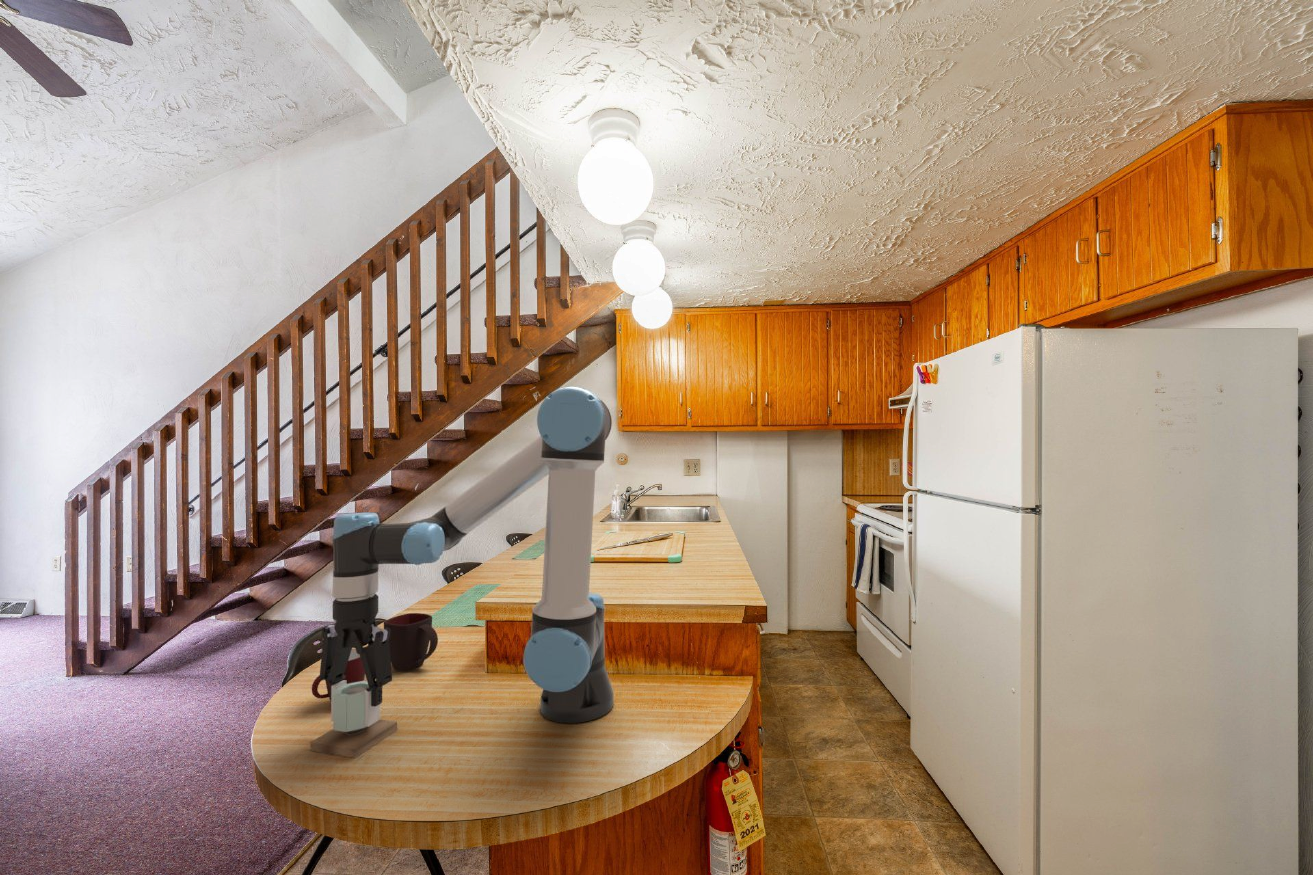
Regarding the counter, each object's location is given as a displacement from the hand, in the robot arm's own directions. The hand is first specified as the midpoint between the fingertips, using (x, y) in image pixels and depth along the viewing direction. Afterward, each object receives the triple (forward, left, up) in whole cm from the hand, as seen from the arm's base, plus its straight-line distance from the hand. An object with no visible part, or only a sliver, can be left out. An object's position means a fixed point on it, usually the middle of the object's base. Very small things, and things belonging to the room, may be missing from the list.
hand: (355, 720), depth 99 cm
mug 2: (+13, -32, -4) cm, 35 cm away
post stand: (0, 0, -4) cm, 4 cm away
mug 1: (+15, -11, -4) cm, 19 cm away
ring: (0, 0, 0) cm, 0 cm away
